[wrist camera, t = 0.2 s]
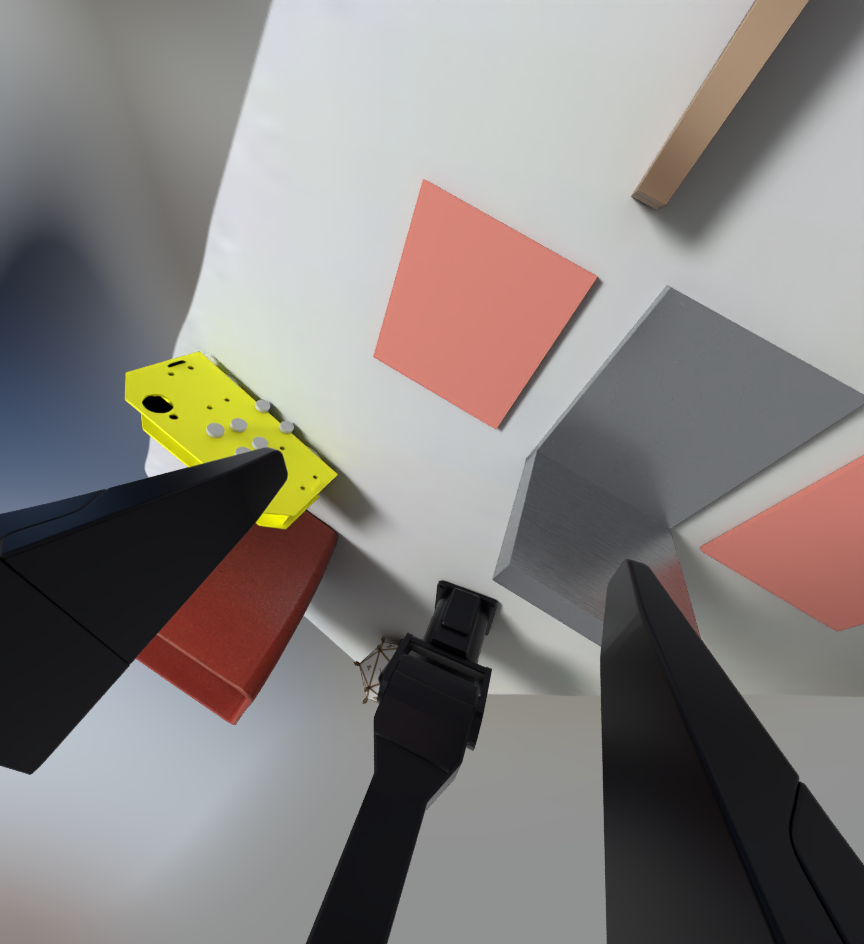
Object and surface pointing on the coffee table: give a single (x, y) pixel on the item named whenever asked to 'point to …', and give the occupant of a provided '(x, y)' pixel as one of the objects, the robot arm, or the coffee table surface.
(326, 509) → the coffee table surface
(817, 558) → the mat
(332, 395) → the coffee table surface
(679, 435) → the grey bookend
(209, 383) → the yellow toy chassis
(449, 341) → the mat
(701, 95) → the walnut corral
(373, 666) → the white faceted polyhedron
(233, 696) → the plant pot
